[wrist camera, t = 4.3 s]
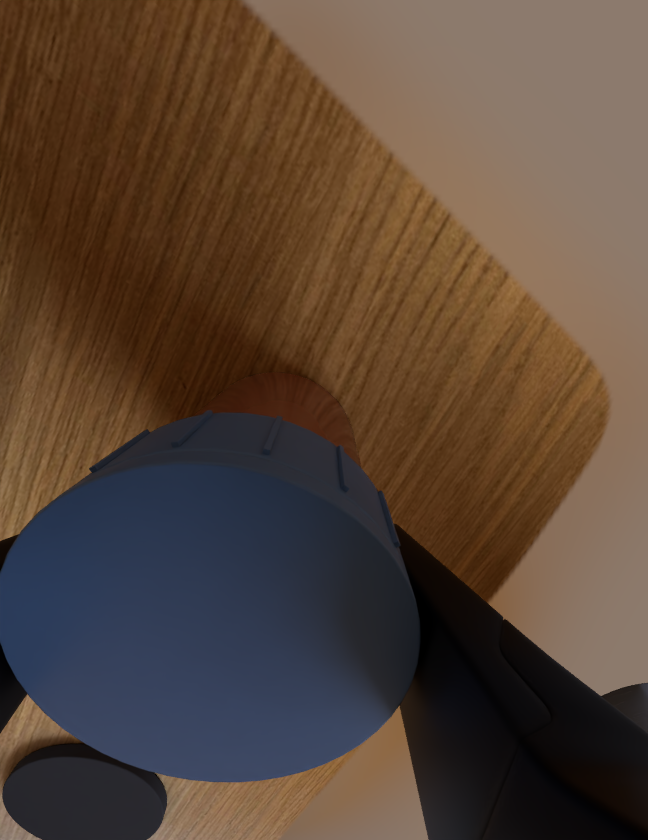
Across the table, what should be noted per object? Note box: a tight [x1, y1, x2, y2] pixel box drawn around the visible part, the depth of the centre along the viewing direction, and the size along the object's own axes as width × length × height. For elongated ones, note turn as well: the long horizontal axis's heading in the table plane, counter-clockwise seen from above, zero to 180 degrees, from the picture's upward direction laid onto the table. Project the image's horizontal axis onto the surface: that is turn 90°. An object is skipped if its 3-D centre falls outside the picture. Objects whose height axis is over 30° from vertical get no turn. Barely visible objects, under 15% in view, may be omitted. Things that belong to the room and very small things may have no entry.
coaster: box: [2, 744, 167, 840], centre depth 20 cm, size 9×9×1 cm
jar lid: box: [0, 410, 421, 782], centre depth 7 cm, size 7×7×2 cm
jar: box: [192, 372, 362, 469], centre depth 10 cm, size 6×6×8 cm
